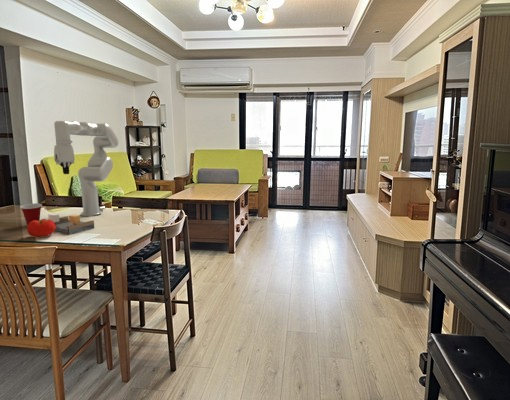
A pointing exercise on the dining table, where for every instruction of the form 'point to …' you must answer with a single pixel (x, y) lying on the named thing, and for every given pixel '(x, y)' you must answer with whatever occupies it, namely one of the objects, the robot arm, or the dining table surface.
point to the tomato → (41, 228)
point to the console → (72, 226)
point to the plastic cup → (31, 212)
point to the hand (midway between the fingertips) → (66, 173)
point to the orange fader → (74, 219)
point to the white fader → (54, 217)
